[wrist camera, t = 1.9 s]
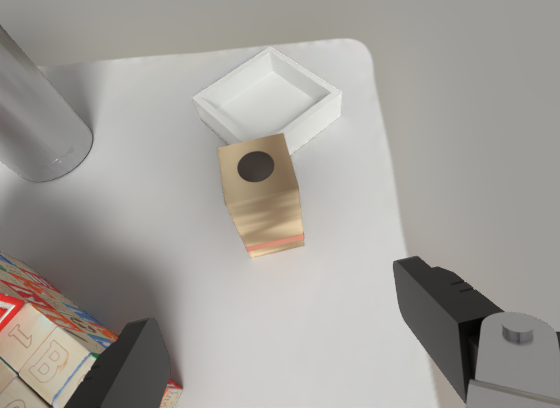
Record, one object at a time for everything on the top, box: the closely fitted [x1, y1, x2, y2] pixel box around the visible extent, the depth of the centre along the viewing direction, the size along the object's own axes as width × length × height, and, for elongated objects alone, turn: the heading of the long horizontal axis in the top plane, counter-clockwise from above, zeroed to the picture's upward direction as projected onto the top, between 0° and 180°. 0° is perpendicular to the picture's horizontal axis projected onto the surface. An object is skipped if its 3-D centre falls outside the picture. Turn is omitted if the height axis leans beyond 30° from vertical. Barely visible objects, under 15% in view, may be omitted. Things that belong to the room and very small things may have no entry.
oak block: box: [217, 133, 304, 258], centre depth 28 cm, size 5×5×10 cm
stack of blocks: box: [0, 252, 183, 408], centre depth 23 cm, size 21×6×12 cm, turn 59°
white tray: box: [192, 46, 342, 155], centre depth 38 cm, size 12×12×4 cm
